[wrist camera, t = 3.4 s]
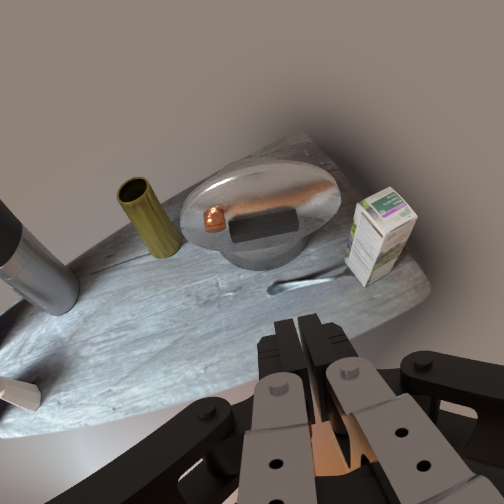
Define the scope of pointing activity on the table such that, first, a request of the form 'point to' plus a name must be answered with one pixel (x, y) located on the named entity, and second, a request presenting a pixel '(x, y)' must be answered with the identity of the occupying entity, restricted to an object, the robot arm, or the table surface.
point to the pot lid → (259, 206)
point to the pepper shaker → (20, 393)
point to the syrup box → (378, 235)
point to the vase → (148, 217)
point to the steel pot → (268, 256)
